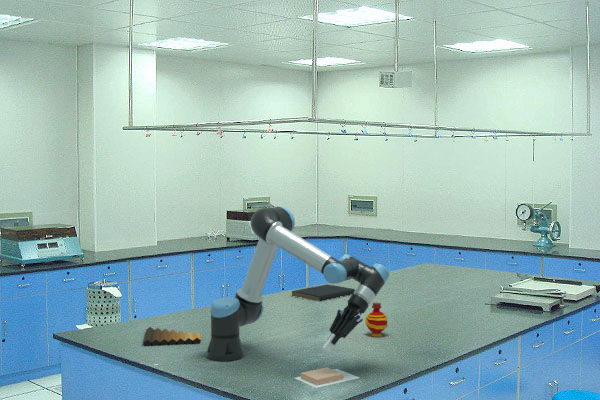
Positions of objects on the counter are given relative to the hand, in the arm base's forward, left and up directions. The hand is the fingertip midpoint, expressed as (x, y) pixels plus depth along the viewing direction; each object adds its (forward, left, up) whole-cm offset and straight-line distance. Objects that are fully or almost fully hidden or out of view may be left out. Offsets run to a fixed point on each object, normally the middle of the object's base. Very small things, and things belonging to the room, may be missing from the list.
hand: (325, 350), depth 247 cm
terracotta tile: (-4, +2, -9) cm, 11 cm away
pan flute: (-28, -88, -12) cm, 93 cm away
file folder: (-156, -67, -12) cm, 170 cm away
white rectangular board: (-1, 0, -11) cm, 11 cm away
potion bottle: (-72, -5, -11) cm, 73 cm away
